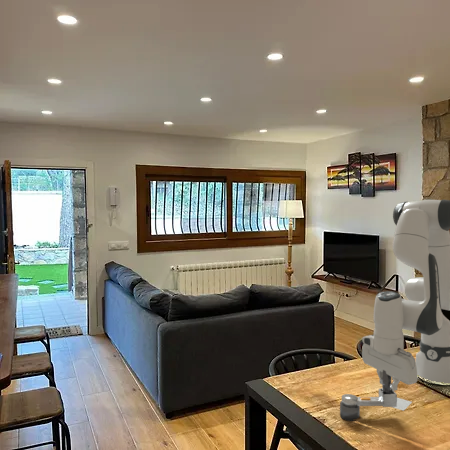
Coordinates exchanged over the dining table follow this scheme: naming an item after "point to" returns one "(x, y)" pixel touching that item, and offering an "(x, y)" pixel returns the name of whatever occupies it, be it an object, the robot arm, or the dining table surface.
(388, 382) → the dark grey post
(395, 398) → the crank
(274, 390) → the dining table surface
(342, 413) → the crank post
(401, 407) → the mat
